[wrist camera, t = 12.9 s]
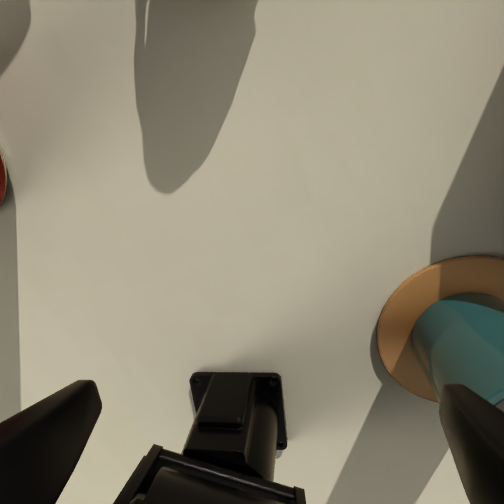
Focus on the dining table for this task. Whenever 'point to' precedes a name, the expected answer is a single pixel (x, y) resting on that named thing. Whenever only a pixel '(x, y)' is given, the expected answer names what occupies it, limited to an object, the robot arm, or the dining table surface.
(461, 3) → the dining table surface
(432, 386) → the cup
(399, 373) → the coaster
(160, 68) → the dining table surface
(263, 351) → the dining table surface
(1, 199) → the soda can
